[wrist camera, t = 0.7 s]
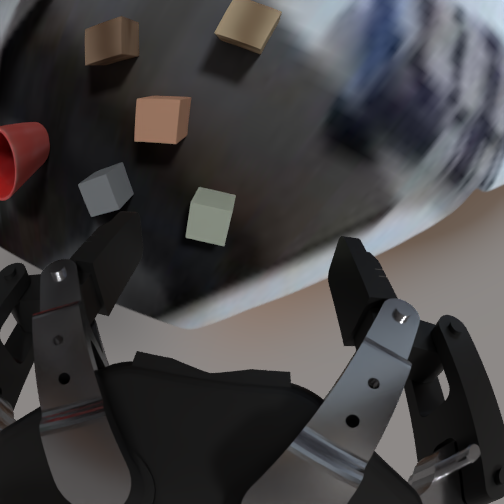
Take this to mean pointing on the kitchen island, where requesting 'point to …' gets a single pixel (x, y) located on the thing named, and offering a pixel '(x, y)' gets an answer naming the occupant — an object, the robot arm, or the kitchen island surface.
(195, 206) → the sage cube
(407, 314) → the robot arm
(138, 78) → the kitchen island surface
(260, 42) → the oak cube
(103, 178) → the slate cube
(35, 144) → the flower pot
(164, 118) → the terracotta cube
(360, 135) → the kitchen island surface
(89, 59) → the walnut cube
